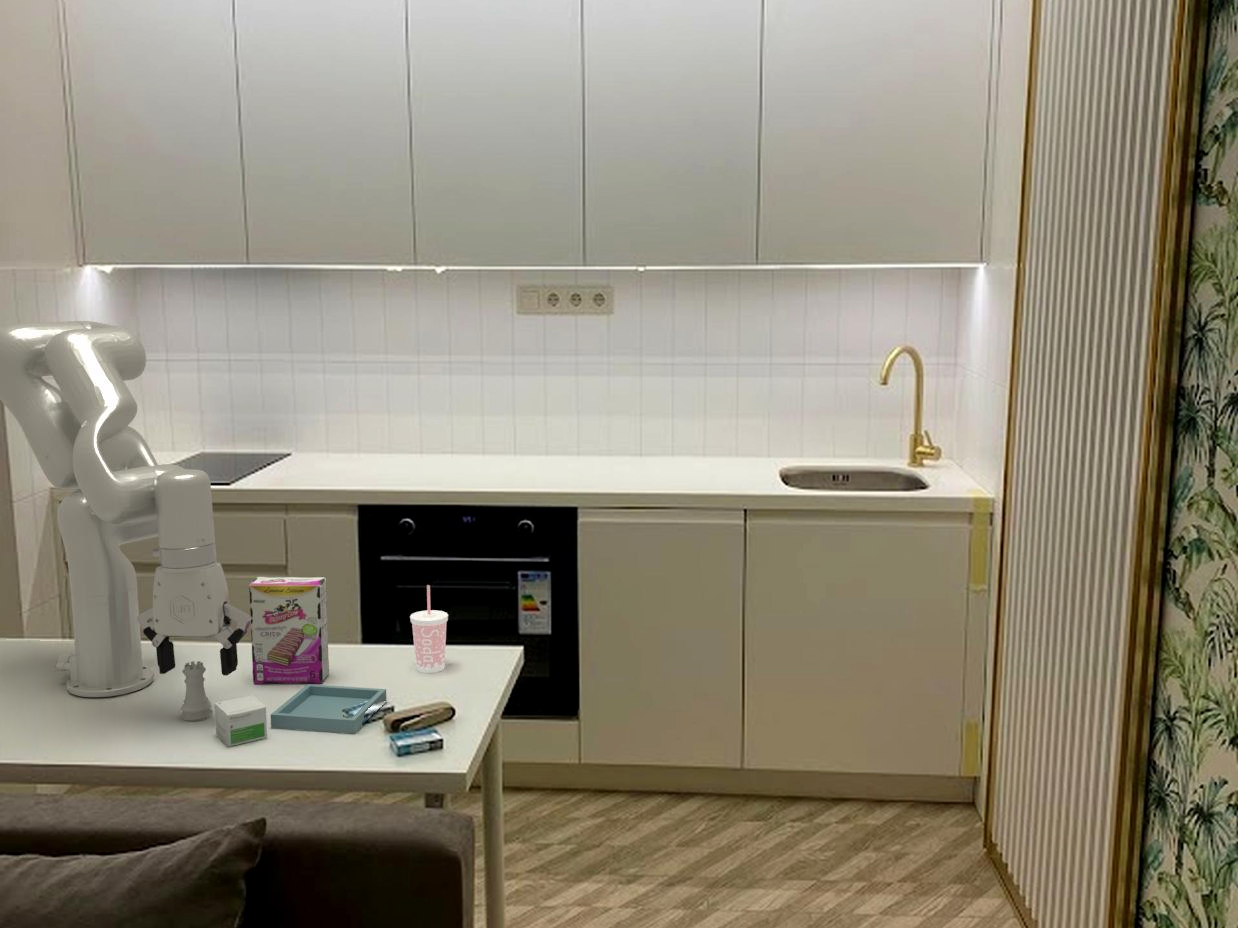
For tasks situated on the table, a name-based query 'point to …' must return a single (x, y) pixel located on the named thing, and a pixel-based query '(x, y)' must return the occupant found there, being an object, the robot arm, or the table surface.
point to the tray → (325, 708)
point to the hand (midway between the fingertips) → (198, 671)
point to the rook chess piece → (195, 694)
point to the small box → (240, 720)
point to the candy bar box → (289, 630)
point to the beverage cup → (429, 638)
